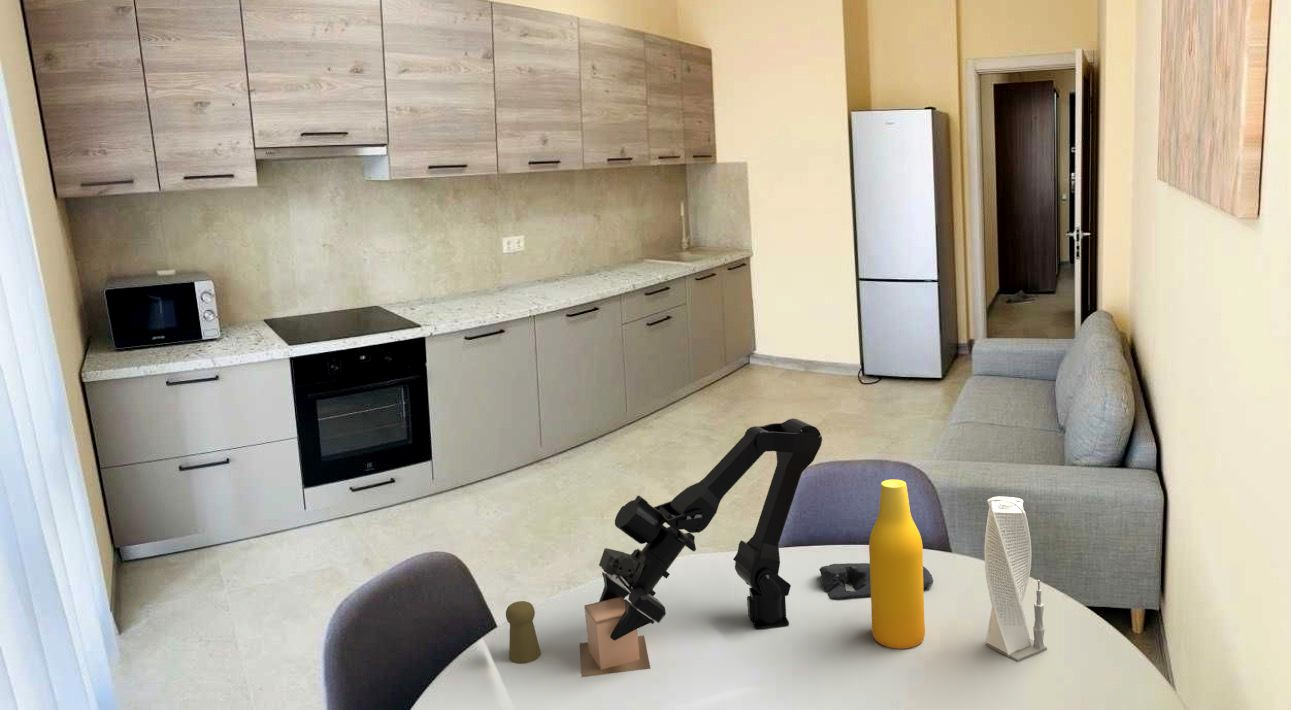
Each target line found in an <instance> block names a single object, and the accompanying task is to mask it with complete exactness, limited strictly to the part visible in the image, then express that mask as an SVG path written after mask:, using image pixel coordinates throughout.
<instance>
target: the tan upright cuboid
mask: <svg viewBox="0 0 1291 710" xmlns="http://www.w3.org/2000/svg"><path fill="white" fill-rule="evenodd" d="M625 599H626V598H623V597H618V598H613V599H609V600H605V601H601V602H599V601H597V602H594V603H589V604H585V605H584V616H585V625H586V626H585V627H586V636H587V638H586V639H587V642H588V648H589V652H590V654H591V655H592V657H593V658H594V660H595V661H596V663H597V664H598V666H599V667H600V669H601V670H602V669H606V668H609V667H613V666H617V665H621V664H624V663H628V662H632V661H636V660H640V658H639V646H638V636H639V635H638V629H636V630H634V631H632V632H630V633H628V634H626V635H624V636H623V637H621V638H619V639H617V640H613V639H611V638H610V636H611V634H612V632H613V630H614V628H615V627H616V625H617V623H618V622H619V620H620V618H621V617H622V615H623V613H624V612H625Z"/></svg>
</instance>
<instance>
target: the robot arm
mask: <svg viewBox="0 0 1291 710" xmlns="http://www.w3.org/2000/svg"><path fill="white" fill-rule="evenodd" d="M822 442H823V436H822V434H821V432H820V430H819V429H818V428H817V427H815V426H814V425H811V424H809V423H807V422H804V421H803V420H800V419H798V418H790V419H789V418H788V419H787V420H785V421H783V422H776V423H775V422H774V423H769V424H766V425H765V424H764V425H761V426H760V425H759V426H758V425H754V426H751V427H749V428H748V429H746V431H745V433H744V435H743V436H742V437H741V438H740V439H739V440H738V442H736V444H735V445H734V446H733V447H732V448H731V449H730V450H729V451H728V452H727V453H726V454H725V455H724V457H723V458H721V460H719V462H718V463H717V464H716V465H715V466H714V467H713V468H712V469H711V470H710V472H708V473H707V474H706V475H705V477H704V478H702V479H701V480H700V481H699V482H696V483H694V484H692V485H689V486H688V487H686V488H684V489H683V490H682V491H681V492H679V493H678V494H676V495H675V496H674V498H673V499H672V500H671V501H667V502H664V503H662V504H661V503H660V504H659V505H657V506H652V505H651V504H650V503H649V502H648V501H647V500H646V499H644V498H643V497H642V496H641V495H637V496H636V497H635V499H633V500H629V501H628V502H627V503H626V504H624V505H622V506H621V508H619V510H618V511H617V514H616V516H615V519H614V525H615V527H616V528H617V529H619V530H620V531H621V532H623V533H624V534H626V536H628V537H630V538H631V539H633V540H634V541H636V542H637V543H638V544H640V545H643V544H645V546H643V548H642V549H640V548H637V549H634V550H633V552H632V553H631V554H630V553H626V552H623V551H621V550H617V549H616V550H615V549H611V548H607V547H606V548H604V550H603V553H602V555H601V558H600V560H599V563H598V566H599V567H600V568H601V569H602V570H603V571H602V572H601V575H602V579H603V583H604V584H603V585H604V587H603V589H602V592H601V594H600V595H601V596H600V598H599V601H598V602H601V601H605V600H609V599H613V598H618V597H623V598H624V599H625V612H624V613H623V615H622V617H621V618H620V620H619V622H618V623H617V625H616V627H615V628H614V630H613V632H612V634H611V636H610V638H611V639H613V640H617V639H619V638H621V637H623V636H624V635H626V634H628V633H630V632H632V631H634V630H636V629H637V630H638V629H640V628H642V627H644V626H647V625H650V624H652V625H653V624H654V623H657V624H660V623H661V621H662V620H663V619H664V618H665V616H666V615H667V614H666V606H665V605H663V603H662V602H661V601H660V600H659V599H658V598H656V597H655V595H656V594H657V592H656V591H655V590H654V589H655V587H656V586H657V585H658V583H659V582H660V580H661V579H662V578H665V579H666V580H667V578H669V576H670V575H671V574H670V573H669V572H668V570H669V568H670V567H671V566H672V564H673V563H674V561H676V559H677V558H678V556H680V555H679V554H681V552H682V551H683V550H684V548H685V547H686V548H687V549H689V550H690V551H692V552H696V550H697V547H696V542H695V538H696V537H695V535H694V534H696V533H698V534H699V533H701V532H703V531H704V530H705V529H706V528H707V527H708V526H709V524H710V523H711V521H712V520H713V519H714V518H715V515H716V514H717V512H718V509H719V506H720V504H721V501H722V500H723V498H724V496H726V494H727V493H729V491H730V490H731V489H732V488H733V487H734V486H735V485H736V484H737V483H738V481H740V479H741V478H742V477H743V476H744V475H745V474H746V473H747V472H748V471H749V470H750V469H751V468H752V466H753V465H754V464H755V463H756V462H757V461H758V460H759V459H760V458H761V457H762V456H763V455H764V453H767V452H775V454H776V467H775V469H774V473H773V475H772V479H771V482H770V485H769V488H768V491H767V495H766V498H765V500H764V502H763V503H764V504H763V505H762V510H761V513H760V515H759V519H758V523H757V525H756V528H755V531H754V534H753V535H752V537H750V539H749V540H748V541H744V540H740V542H739V544H738V549H737V552H736V554H735V556H734V557H733V561H734V562H735V563H734V570H735V572H736V573H737V575H738V576H739V577H740V578H741V579H742V580H743V581H744V583H745V585H747V586H749V588H748V591H749V595H747V596H746V606H747V618H748V619H749V621H750V622H751V623H752V625H753V627H754V629H756V630H758V629H760V630H761V629H768V628H777V627H783V626H789V625H790V621H789V620H788V618H787V605H786V604H787V603H786V597H787V596H789V594H790V590H791V583H789V582H788V581H786V579H784V578H782V577H781V576H780V575H779V572H780V565H781V559H780V558H781V557H780V550H779V549H780V547H779V545H780V540H781V537H782V535H783V531H784V529H785V526H786V523H787V521H788V520H787V519H788V516H789V514H790V510H791V507H792V504H793V502H794V498H795V496H796V492H797V488H798V486H799V483H800V480H801V478H802V477H801V476H802V474H803V472H804V471H805V470H807V468H808V467H809V466H810V465H811V464H812V463H813V462H814V460H815V458H816V456H817V454H818V453H819V450H820V449H821V446H822ZM664 524H666V525H668V527H667V526H665V525H664ZM682 530H685V531H686V532H683V531H682ZM626 597H628V599H626Z"/></svg>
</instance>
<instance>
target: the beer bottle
mask: <svg viewBox="0 0 1291 710" xmlns="http://www.w3.org/2000/svg"><path fill="white" fill-rule="evenodd" d="M879 497H880V498H879V509H878V516H877V519H876V521H875V523H874V526H872V527H873V528H872V529H871V533H870V536H869V541H868V550H869V551H868V552H869V554H868V555H869V563H870V583H871V596H870V603H871V606H870V609H871V631H872V636H873V639H875V641H877V642H878V643H879V644H880V645H882V646H884V647H887V648H892V649H900V650H901V649H910V648H914V647H916V646H919V645H920V644H921V643H922V642H923V641H924V638H925V636H926V623H925V601H924V599H925V598H924V597H925V596H924V589H925V588H923V566H924V555H923V553H924V552H923V551H924V547H923V541H922V537H921V533H920V531H919V529H918V527H917V525H916V523H915V521H914V519H913V517H912V513H911V509H910V508H911V507H910V502H909V500H910V499H909V493H908V486H907V482H906V481H904V480H901V479H885V480H884V481H881V484H880V496H879Z"/></svg>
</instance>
